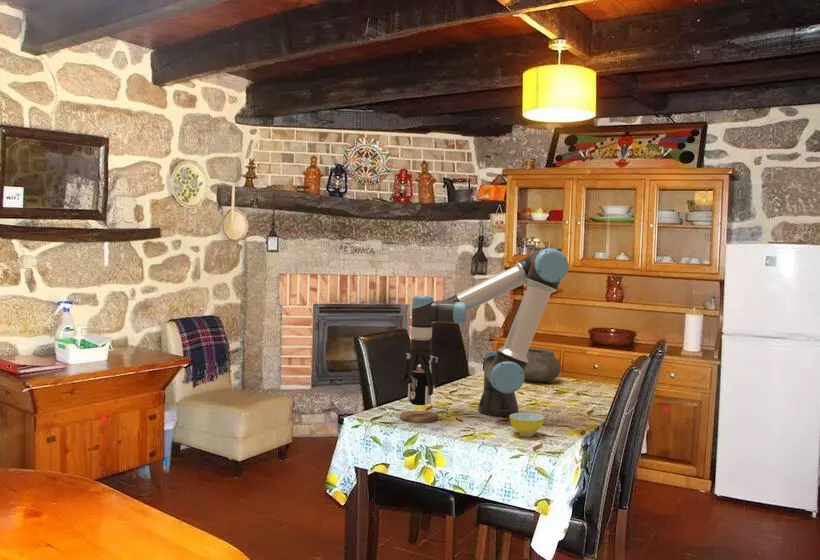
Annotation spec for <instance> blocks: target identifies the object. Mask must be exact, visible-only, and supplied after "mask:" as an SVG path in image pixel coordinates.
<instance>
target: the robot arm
mask: <svg viewBox="0 0 820 560" xmlns="http://www.w3.org/2000/svg"><path fill="white" fill-rule="evenodd" d="M568 271H569V260H568V259H567V256H566V255H565V254H564V253H563V252H562V251H561V250H558V249H555V248H552V247H548V248H540V249H538V250H535V251H533V252H532V253H531V254H529V255H528V256H525V257H524V258H523V259H522V258H521V259H520V260H518V261H516V264H515V265H513V266H512V267H510V268H508V269H505V270H504V271H501V272H499V273H498V274H495V275H493V276H491V277H489V278H486V279H485V280H482V281H481V282H479V283H477V284H475V285H473V286H470V287H469V288H466V289H465V290H462V291H460V292H458V293H456V294H455V295H452V296H450V297H448V298H444V299H442V300H440V301H435V300H434V296H432V295H424V294H423V295H421V294H420V295H419V294H418V295H414V296H413V297H412V305H411V329H410V338H411V340H410V352H406V353H403V355H402V357H403V365H402V374H401V380H402V382H403V381H404V382H405V383H406V389H405V390H406V392H407V402H408V403H411V402H410V387H411V373H412V370H413V371H415V370H416V369H418V366H419V365H420V366H422V368H423V370H424V372H425V376H426V380H427V384H428V385H427V386H426V390H425V404H426V405H431V403H432V396H433V395H434V386H436V385H439V368H438V366H439V364H438V363H439V356H434V355H433V354H432V348H433V347H432V345H433V344H432V343H433V341H432V338H433V323H434V324H435V323H443V324H464V323H466V321H467V312H469V311H471V310H473V309H475V308H476V307H479V306H481V305H482V304H483V305H484V304H485V303H487V302H489V301H492V300H493V299H496V298H497V297H499V296H502V295H504V294H506V293H508V292H510V291H512V290H515V289H517V288H518V287H521V286H522V285H527V287H526V290H525V292H524V294H523V297H522V299H521V302H520V305H519V307H518V310H517V312H516V315H515V317H514V320H513V323H512V325H511V326H510V330H509V333H508V335H507V338H506V339H505V343H504V345H503V346H502V347H501V348H498V349H497V351H486V352H485V353H484V358H483V361H484V365H483V367H484V368H483V369H484V370H483V371H484V372H483V392H482V394H481V397H480V400H479V403H478V409H477V410H478V412H479V413H480V414H483V415H487V416H493V417H494V416H495V417H510V415H511V414H514V413H520V412H519V409H520V407H519V404H518V400H517V396H516V393H515V392H517V391H518V390H520V389H521V388H522V386H523V385H524V381H525V379H524V372H525V369H526V367H527V364H528V359H527V357H526V355H527V352H528V350H529V348H530V347H531V344H532V342H533V339H534V337H535V334H536V332H537V329H538V327H539V325H540V322H541V320H542V316H543V314H544V312H545V309H546V307H547V304H548V302H549V299H550V297H551V295H552V294H553V293H555V292H557V291H558V288H559V285H560V283H561V281H562V280H563V279H564V278H565V277H566V275H567V274H568ZM411 360H412V361H411ZM430 362H431V363H430Z"/></svg>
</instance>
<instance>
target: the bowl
mask: <svg viewBox="0 0 820 560" xmlns="http://www.w3.org/2000/svg"><path fill="white" fill-rule="evenodd" d="M544 421H545V417H544V415H542V414H539V413H538V414H537V413H533V412H519V413H514V414H511V415H510V416H509V422H510V424H511V426H512V428H513V429H514V430H515V431H517V432H518V433H519V435H520V436H521V437H532V436H534V433H536V432H538V431H539V430H540V429H541V428H542V427H543V424H544Z"/></svg>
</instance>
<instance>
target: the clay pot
mask: <svg viewBox="0 0 820 560" xmlns="http://www.w3.org/2000/svg"><path fill="white" fill-rule="evenodd" d="M526 357H527V359H528V364H527V367H526V369H525V372H524V380H526V381H528V382H533V383H546V382H550V381H553V380H555V379H556V378H557V377H558V376H559V375H560V373H561V370H562V367H561V363H560V362H559V360H558V359H557V358H556V357H555V353H554V351H553V350H550V349H546V348H538V347H537V348H530V347H529V350H528V352H527V355H526Z"/></svg>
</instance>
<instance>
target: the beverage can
mask: <svg viewBox="0 0 820 560" xmlns="http://www.w3.org/2000/svg"><path fill="white" fill-rule="evenodd" d="M427 385H428V384H427V380H426V376H425V372H424V369H420V368H417V369H416V370H415V371H413V370H412V373H411V387H410V402H409V403H411V405H413V406H425V405H426V404H425V390H426V386H427Z"/></svg>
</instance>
